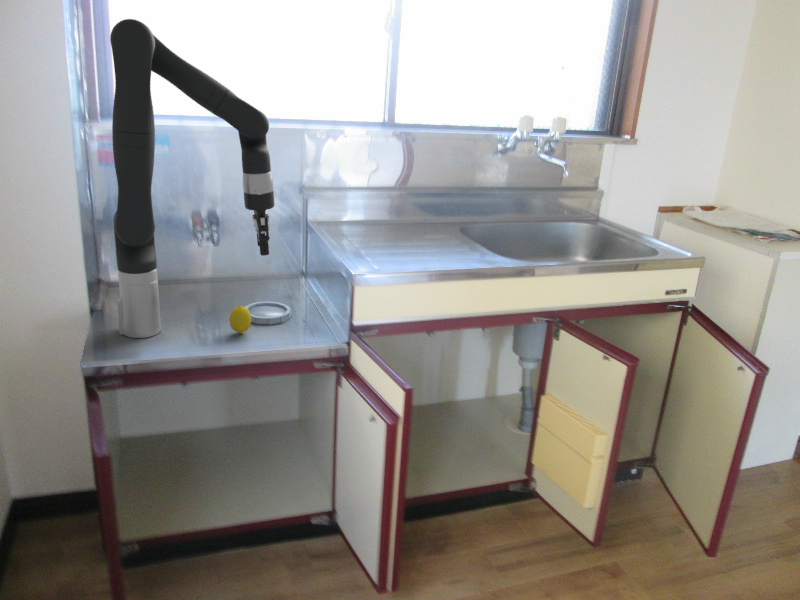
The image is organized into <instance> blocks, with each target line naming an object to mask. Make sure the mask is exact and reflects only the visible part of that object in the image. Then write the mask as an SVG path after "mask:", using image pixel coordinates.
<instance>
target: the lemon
mask: <svg viewBox="0 0 800 600" xmlns="http://www.w3.org/2000/svg"><path fill="white" fill-rule="evenodd" d="M229 324H230V328H231V329H232V330H233V331H235V332H236V333H238V334H239V335H242V334H243V333H244V332H245V333H246V331H248V330H249V329H250V327H251V326H252V325H251V324H252V322H251V315H250V312H249V310H248V309H247V308H245V306H244V305H243V306H242V305H241V304H240V305H238V306H236V307H234V308H233V309H232V310H231V311H230V314H229Z"/></svg>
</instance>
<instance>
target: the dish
mask: <svg viewBox="0 0 800 600" xmlns="http://www.w3.org/2000/svg"><path fill="white" fill-rule="evenodd" d="M244 307H245V308H247V309H248V310H249V312H250V315H251V324H256V325H275V324H276V325H277V324H282V323H284V322H286V321H288V320H290V318H291V316H292V308H291V307H289V305H288V304H285V303H282V302H279V301H278V302H277V301H257V302H253V303H250V304H247V305H245V306H244Z"/></svg>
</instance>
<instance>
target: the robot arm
mask: <svg viewBox="0 0 800 600" xmlns="http://www.w3.org/2000/svg"><path fill="white" fill-rule="evenodd" d="M109 41H110V46H111V52H112V58H113V59H112V60H113V66H114V69H113V70H114V77H115V78H114V79H115V80H114V81H115V88H114V90H115V91H114V99H113V108H112V123H111V124H112V125H111V129H112V130H111V131H112V132H111V133H112V135H111V136H112V139H111V140H112V154H113V162H114V169H115V174H116V175H115V176H116V182H117V206H116V207H117V209H116V212H115V213H114V216H113V231H114V243H115V256H116V265H117V277H118V289H119V297H118V298H117V299H116V303H117V304H116V305H117V307H116V308H117V315H118V317H117V318H118V329H119V335H123V336H126V337H128V338H135V339H142V338H143V339H144V338H149V337H150V338H151V337H154V336H155V335H157V334H159V333H161V328H162V326H161V323H162V322H161V313H160V312H161V310H160V295H159V281H158V264H157V262H158V261H157V254H156V253H157V252H156V244H155V232H156V231H155V230H156V224H155V218H154V209H153V201H152V200H153V198H152V184H153V183H152V182H153V175H154V165H155V149H156V144H155V142H156V141H155V140H156V135H155V133H156V129H155V128H156V127H155V115H154V106H153V100H152V92H151V78H152V77H151V76H152V72H153V73H155V74H156V75H159V76H160V77H162V78H163V79H164V80H166V81H167V82H169V83H170V84H172V85H173V86H175V88H177V89H178V90H179V91H181V92H182V93H183V94H184V95H186V96H187V97H189V98H190V99H191V100H192V101H194V102H195V103H197V104H198V105H199V106H200V107H202V108H203V109H205V110H206V111H208V112H209V113H212V114H213V115H215V116H216V117H218V118H220V119H221V120H223V121H225V122H226V123H228V125H230V126H232V127H233V128H234V129H235V130H237V132H238V138H239V143H240V149H241V165H242V167H241V168H242V187H243V188H242V191H243V201H244V208H245V209H246V210H249V211H253V214H252V216H251V217H252V221H253V227H254V229H255V234H256V241H257V246H258V247H259V252H260V254H259V255H260V256H268V255H270V250H269V249H270V248H269V242H270V239H271V238H270V234H269V233H270V224H269V222H270V217H269V214H268V213H267V212H266V211H267V210H270V209H271V210H272V209H273V208H274V207H275V195H274V193H275V192H274V183H273V182H274V180H273V177H272V176H273V175H272V167H271V166H272V165H271V157H270V156H271V155H270V152H269V149H268V145H267V144H268V143H267V134H268V132H269V128H270V123H269V119H268V117H267V116H266V115H265V113H264V112H262V111H261V110H259V109H258V108H256V107H254V106H253V105H251V104H250V103H248V102H247V101H245V100H243V99H242V98H240V97H239V96H238V95H236V94H235V93H234V92H233V91H232V90H230V89H229V88H228V87H226V86H225V85H224V84H222V83H221V82H220V81H218V80H216V79H215V78H214V77H212V76H210V75H209V74H208V73H205V72H204V71H202V70H201V69H199V68H197V67H195V66H194V65H193V64H191V63H189V62H188V61H186V60H185V59H183V58H182V57H180V56H179V55H178V54H176V53H175V52H173V51H172V50H171V49H170V48H168V47H167V46H166V45H165V44H164V43H163V42H161V40H160V39H159V38H158V37H157V36H156V35H155V34H154V33H153V32H152V30H151V29H150V28H149V27H148V26H147V25H146V24H145V23H144V22H141V21H139V20H137V19H135V18H134V19H133V18H127V19H122V20H121V21H119V22H117V23H116V24H115V25H114V26H113V28H112V30H111V33H110V39H109Z"/></svg>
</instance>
